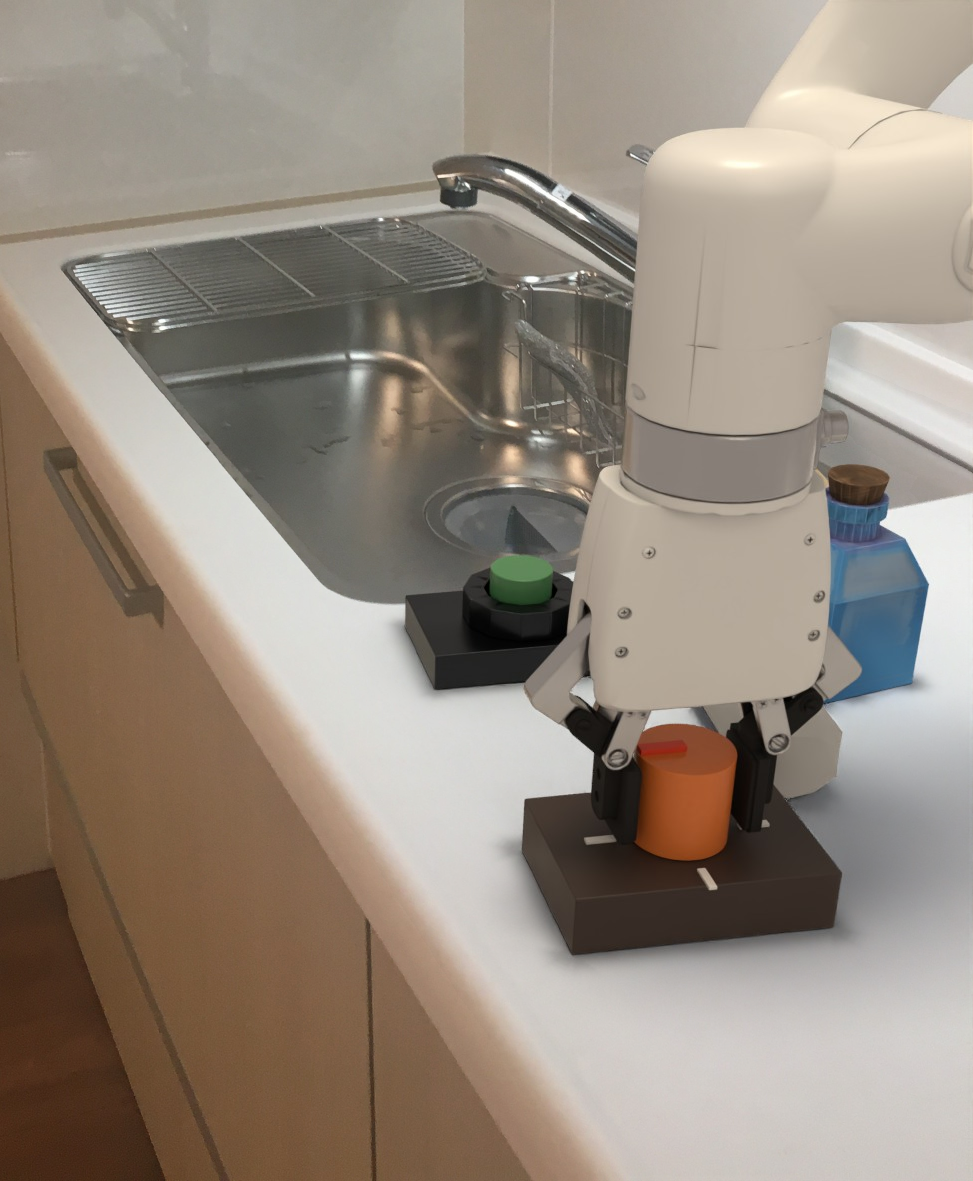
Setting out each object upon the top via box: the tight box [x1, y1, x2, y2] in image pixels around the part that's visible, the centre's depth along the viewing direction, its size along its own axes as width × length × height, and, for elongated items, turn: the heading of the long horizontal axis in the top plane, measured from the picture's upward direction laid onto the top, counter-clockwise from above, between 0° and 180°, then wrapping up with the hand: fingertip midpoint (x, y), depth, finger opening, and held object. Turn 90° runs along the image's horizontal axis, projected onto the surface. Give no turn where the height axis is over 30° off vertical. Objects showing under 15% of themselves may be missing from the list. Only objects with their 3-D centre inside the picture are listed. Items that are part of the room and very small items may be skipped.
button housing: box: [404, 567, 591, 690], centre depth 95 cm, size 12×8×4 cm, turn 96°
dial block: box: [521, 784, 843, 955], centre depth 74 cm, size 12×9×3 cm
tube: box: [702, 703, 843, 799], centre depth 90 cm, size 5×5×25 cm
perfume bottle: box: [823, 463, 930, 705], centre depth 90 cm, size 6×6×12 cm
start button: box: [489, 554, 554, 605], centre depth 94 cm, size 4×4×2 cm
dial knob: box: [633, 723, 737, 861], centre depth 73 cm, size 4×4×5 cm
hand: (678, 818), depth 73 cm, fingers open, 5 cm apart
